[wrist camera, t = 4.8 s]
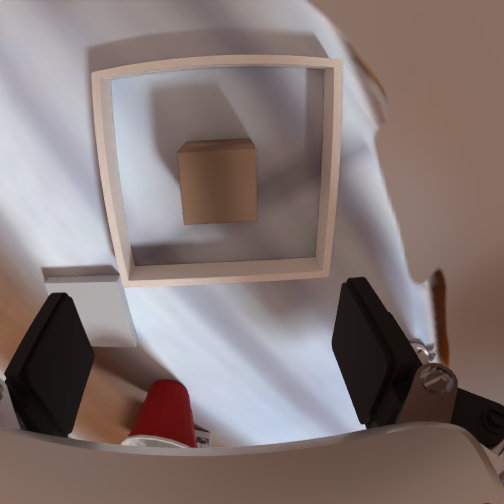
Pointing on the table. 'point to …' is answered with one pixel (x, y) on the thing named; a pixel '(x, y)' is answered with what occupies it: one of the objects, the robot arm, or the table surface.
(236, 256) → the table surface
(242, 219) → the walnut block
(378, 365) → the robot arm
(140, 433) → the plastic cup
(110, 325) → the display stand
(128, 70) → the beige square frame
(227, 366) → the table surface
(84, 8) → the table surface
